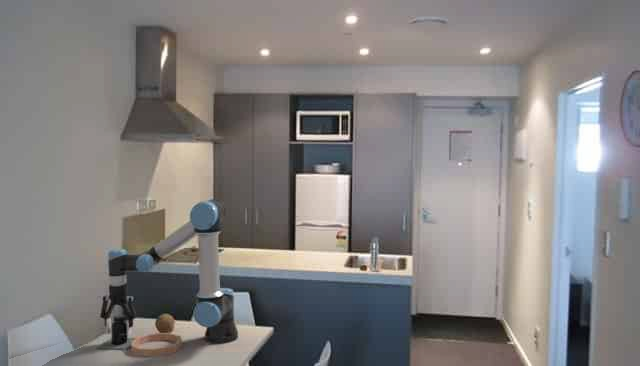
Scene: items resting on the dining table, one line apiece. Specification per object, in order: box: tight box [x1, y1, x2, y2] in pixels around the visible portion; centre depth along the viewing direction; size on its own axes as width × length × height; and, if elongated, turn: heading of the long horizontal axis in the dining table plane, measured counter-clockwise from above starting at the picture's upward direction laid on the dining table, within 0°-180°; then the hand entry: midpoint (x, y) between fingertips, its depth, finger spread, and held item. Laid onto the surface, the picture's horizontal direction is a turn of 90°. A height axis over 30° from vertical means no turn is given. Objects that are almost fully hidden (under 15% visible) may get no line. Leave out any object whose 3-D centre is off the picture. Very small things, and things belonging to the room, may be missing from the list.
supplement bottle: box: [110, 314, 129, 345], centre depth 242 cm, size 7×7×12 cm
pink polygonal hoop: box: [131, 332, 183, 357], centre depth 237 cm, size 21×21×3 cm
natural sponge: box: [154, 313, 176, 333], centre depth 255 cm, size 9×9×10 cm
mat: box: [95, 337, 137, 351], centre depth 242 cm, size 14×14×1 cm
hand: (119, 333), depth 242 cm, fingers open, 9 cm apart
